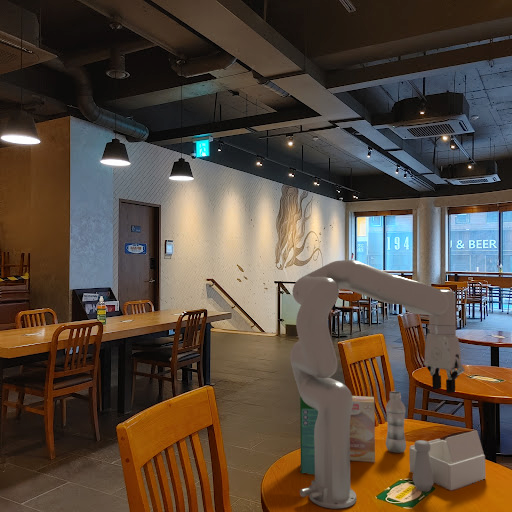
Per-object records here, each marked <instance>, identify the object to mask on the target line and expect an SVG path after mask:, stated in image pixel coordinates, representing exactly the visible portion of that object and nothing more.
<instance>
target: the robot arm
mask: <svg viewBox="0 0 512 512" xmlns="http://www.w3.org/2000/svg"><path fill="white" fill-rule="evenodd" d="M340 290H347V291H351V292H354V293H356V294H360V295H363V296H366V297H368V298H370V299H373V300H375V301H377V302H378V301H379V302H381V303H386V304H391V305H400V306H403V307H404V309H405V310H406V311H407V312H409V313H410V314H415V315H423V316H428V318H429V320H428V321H429V324H428V325H427V329H428V331H429V333H427V334H426V339H425V346H424V361H423V365H424V366H425V368H427V370H428V371H429V374H430V376H431V379H432V383H431V384H432V390H435V391H436V390H440V389H442V375H441V374H440V371H441V370H445V372H446V376H447V378H446V381H445V391H446V393H447V394H451V393H452V394H453V393H456V380H457V379H458V377H459V376H460V375H461V374H463V373H464V372H465V371H466V370H465V367H464V366H463V364H462V359H461V347H460V343H459V342H460V340H459V336H458V335H457V332H456V331H457V328H456V321H457V318H456V294H455V292H454V291H453V290H451V289H450V290H449V289H439V288H436V287H434V286H431V285H429V284H426V283H423V282H420V281H416V280H413V279H408V278H405V277H402V276H399V275H395V274H392V273H389V272H386V271H384V270H381V269H379V268H376V267H374V266H371V265H369V264H366V263H363V262H361V261H358V260H354V259H345V260H335V261H332V262H329V263H328V264H325V265H323V266H322V267H320V268H319V267H318V268H317V269H315V270H313V271H311V272H310V273H307V274H305V275H303V276H302V277H300V278H299V279H298V280H297V281H296V282H295V283H294V285H293V287H292V297H293V298H294V300H295V302H296V303H298V305H300V306H299V309H298V311H297V315H296V320H295V323H296V324H295V327H296V332H297V336H298V340H297V341H296V342H295V343H294V344H293V346H292V347H291V350H290V355H289V357H290V360H289V361H290V365H291V368H292V373H293V376H294V380H295V383H296V386H297V390H298V393H299V397H300V396H301V398H302V400H303V401H304V402H305V403H306V404H307V405H309V406H310V407H312V408H314V409H316V410H317V411H318V417H317V420H316V423H315V429H314V442H315V474H314V480H311V485H309V487H305V488H304V487H303V488H300V489H299V494H300V497H302V498H304V497H309V499H310V501H311V502H312V503H314V504H315V505H317V506H319V507H321V508H326V509H332V510H337V509H338V510H339V509H346V508H349V507H352V506H353V505H354V504H356V502H357V494H356V492H355V491H354V490H353V489H352V488H351V460H350V417H351V411H352V406H353V398H352V396H353V395H352V392H351V390H350V389H349V388H348V386H347V385H345V384H344V383H343V382H341V381H339V380H336V379H333V378H331V377H332V376H334V374H336V372H337V370H338V358H337V355H336V351H335V347H334V343H333V340H332V336H331V333H330V330H329V322H328V319H329V316H330V312H331V311H332V309H333V307H334V306H335V304H336V302H337V301H338V298H339V295H340V294H339V293H340Z"/></svg>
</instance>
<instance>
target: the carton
mask: <svg viewBox="0 0 512 512" xmlns="http://www.w3.org/2000/svg"><path fill="white" fill-rule="evenodd" d="M427 442H429V443H430V451H429V452H428V453H429V457H430V462H431V467H432V472H433V477H434V484H436V485H438V486H440V487H442V488H444V489H447V490H449V491H451V492H452V491H456V490H459V489H461V488H464V487H466V486H470V485H473V484H476V483H478V482H477V481H479V482H481V481H480V480H482V481H484V480H483V479H485V478H486V455H485V454H481V455H477V456H474V457H471V458H467V459H464V460H460V461H457V462H454V463H452V460H451V456H450V453H449V449H448V445H447V441H446V438H445V439H441V438H436V439H433V440H429V441H427ZM416 452H417V450H416V449H415V444H413V445H410V446H409V472H410V473H413V472H414V465H415V459H416ZM485 480H486V479H485ZM475 482H476V483H475ZM472 483H473V484H472Z"/></svg>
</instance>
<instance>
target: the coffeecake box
mask: <svg viewBox="0 0 512 512" xmlns="http://www.w3.org/2000/svg"><path fill="white" fill-rule="evenodd" d="M352 398H353V406H352V411H351V417H350V461H355V462H365V463H376V438H375V437H376V435H375V434H376V431H375V430H376V426H375V425H376V423H375V422H376V421H375V418H376V417H375V409H376V408H375V397H374V396H361V395H359V396H358V395H352Z"/></svg>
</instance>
